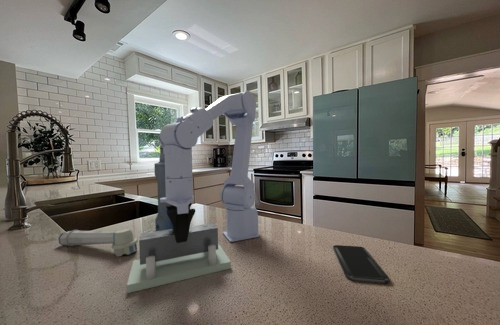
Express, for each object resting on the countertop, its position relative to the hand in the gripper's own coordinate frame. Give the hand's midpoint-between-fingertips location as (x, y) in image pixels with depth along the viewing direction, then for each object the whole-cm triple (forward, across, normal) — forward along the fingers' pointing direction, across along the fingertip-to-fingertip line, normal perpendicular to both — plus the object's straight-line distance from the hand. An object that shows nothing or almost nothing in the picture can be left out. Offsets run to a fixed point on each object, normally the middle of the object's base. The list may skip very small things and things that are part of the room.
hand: (180, 237), depth 46 cm
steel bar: (+3, 0, 0) cm, 3 cm away
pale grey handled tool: (+7, -20, -20) cm, 30 cm away
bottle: (+7, -29, -1) cm, 30 cm away
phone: (+7, +15, +37) cm, 41 cm away
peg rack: (+7, 0, 0) cm, 7 cm away
